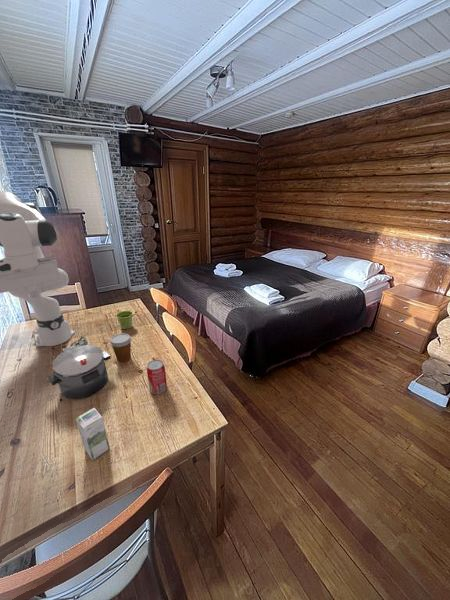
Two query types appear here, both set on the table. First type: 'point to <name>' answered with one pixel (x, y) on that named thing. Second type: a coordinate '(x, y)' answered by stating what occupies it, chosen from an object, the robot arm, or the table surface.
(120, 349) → the disposable coffee cup
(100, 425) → the syrup box
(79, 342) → the brown half-round piece
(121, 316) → the plant pot
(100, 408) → the table surface
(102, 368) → the cooker pot
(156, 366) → the soda can
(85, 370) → the cooker lid
